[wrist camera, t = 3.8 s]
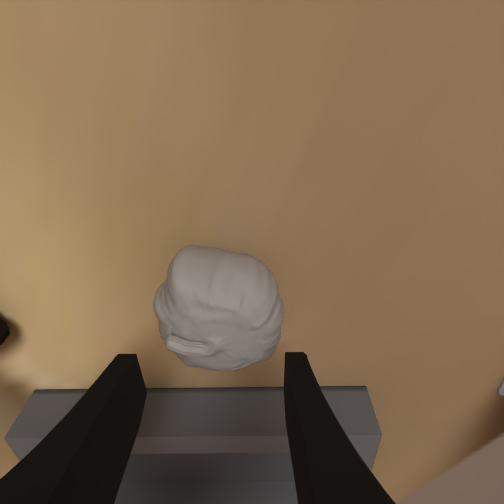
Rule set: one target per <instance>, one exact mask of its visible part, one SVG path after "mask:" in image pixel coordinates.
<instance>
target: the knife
mask: <svg viewBox="0 0 504 504" xmlns="http://www.w3.org/2000/svg"><path fill="white" fill-rule="evenodd" d="M9 335H10V332H9V327H8V326H7V324H6V323H5V322H4V321H3V320H2V319H1V318H0V345H2V344H3V342H4V341H5V340H6V339H7V337H8V336H9Z"/></svg>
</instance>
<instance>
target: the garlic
mask: <svg viewBox="0 0 504 504" xmlns="http://www.w3.org/2000/svg"><path fill="white" fill-rule="evenodd" d="M153 306H154V311H155V314H156V316H157V318H158V321H159V331H160V334H161V337H162V338H163V340H164V341H165V347H166V348H167V349H168V350H170V351H172V352H174V353H175V354H176V355H177V356H178V358H179V359H180V360H181V361H182V362H183V363H184V364H185V365H187V366H190V367H200V368H205V369H208V370H214V371H230V370H232V371H237V370H239V369H242V368H244V367H246V366H249V365H250V364H252V363H256V362H260V361H264V360H266V359H268V358H270V357H271V356H272V354H273V353H274V351H275V349H276V347H277V344H278V342H279V339H280V335H281V323H282V321H283V317H284V306H283V302H282V299H281V297H280V295H279V292H278V288H277V282H276V279H275V277H274V275H273V274H272V272H271V271H270V270H269V269H268V268H267V266H266V265H265V264H264V263H263V262H261V261H260V260H258V259H256V258H255V257H253V256H250V255H247V254H239V253H235V252H230V251H227V250H223V249H219V248H208V247H200V246H194V245H190V246H186V247H184V248H182V249H181V250H180V251H179V252H178V253H177V254H176V256H175V257H174V258H173V259H172V261H171V263H170V265H169V268H168V274H167V280H166V281H165V282H164V283H163V284H162V285H161V286H160V287H159V288H158V290H157V292H156V294H155V297H154V303H153Z"/></svg>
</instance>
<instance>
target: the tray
mask: <svg viewBox="0 0 504 504" xmlns="http://www.w3.org/2000/svg"><path fill="white" fill-rule="evenodd" d="M320 389H321V391H322V393H323V394H324V396H325V398H326V400H327V402H328V404H329V406H330V408H331V409H332V411H333V413H334V415H335V417H336V418H337V420H338V422H339V423H340V425H341V427H342V428H343V430H344V432H345V433H346V435H347V437H348V438H349V440H350V441H351V443H352V444H353V446H354V448H355V449H356V451H357V452H358V454H359V455H360V457H361V458H362V459H363V461H364V462H365V464H366V465H367V467H368V468H369V469H370V471H371V470H372V467H373V464H374V460H375V457H376V453H377V450H378V447H379V443H380V440H381V436H382V434H381V431H380V428H379V425H378V421H377V418H376V415H375V412H374V409H373V406H372V403H371V400H370V397H369V394H368V391H367V388H366V386H347V387H320ZM87 391H88V389H65V390H34V392H33V393H32V395H31V397H30V398H29V400H28V401H27V403H26V405H25V406H24V408H23V409H22V411H21V412H20V414H19V416H18V417H17V419H16V420H15V422H14V423H13V425H12V427H11V428H10V430H9V431H8V433H7V435H6V436H5V438H4V439H5V440H6V442H7V443H8V445H9V446H10V447H11V449H12V450H13V452H14V453H15V455H16V456H17V458H18V459H19V461H21V460H22V459H23V458H24V457H25V456H26V455H27V454H28V453H29V452H30V451H31V450H33V449H34V448H35V447H36V446H37V445H38V444H39V443H40V442H41V441H42V440H43V439H44V438H45V436H46V435H47V434H48V433H49V432H50V431H51V430H52V429H53V428H54V427H55V426H56V425H57V424H58V423H59V422H60V421H61V420H62V419H63V418H64V416H65V415H66V414H67V413H68V412H69V411H70V410H71V409H72V408H73V406H74V405H75V404H76V403H77V402H78V401H79V400H80V399H81V397H82V396H83V395H84V394H85V393H86V392H87ZM146 391H147V395H146V400H145V405H144V410H143V415H142V419H141V424H140V427H139V430H138V433H137V436H136V439H135V442H134V445H133V448H132V451H131V454H130V457H129V460H128V463H127V466H126V469H125V472H124V475H123V478H122V481H121V484H120V487H119V490H118V493H117V496H116V500H115V503H114V504H298V500H297V493H296V486H295V480H294V474H293V467H292V461H291V454H290V448H289V442H288V435H287V429H286V421H285V406H284V387H253V388H159V389H146Z"/></svg>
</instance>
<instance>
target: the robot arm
mask: <svg viewBox="0 0 504 504" xmlns="http://www.w3.org/2000/svg"><path fill="white" fill-rule="evenodd" d="M497 392H498V394H499V395H501V396H504V379H503V381H502V383H501V385H500V386H499V388H498V391H497ZM146 395H147V391H146V388H145V384H144V380H143V377H142V373H141V370H140V366H139V362H138V359H137V355H136V354H118V355H117V356H116V357H115V358H114V359H113V361H112V362H111V363H110V364H109V365H108V367H107V368H106V369H105V370H104V371H103V373H102V374H101V375H100V376H99V377H98V379H97V380H96V381H95V382H94V383H93V385H92V386H91V387H90V388H89V389H88V391H87V392H86V393H85V394H84V395H83V396H82V397H81V399H80V400H79V401H78V402H77V403H76V404H75V405H74V406H73V408H72V409H71V410H70V411H69V412H68V413H67V414H66V415H65V416H64V418H63V419H62V420H61V421H60V422H59V423H58V424H57V425H56V426H55V427H54V428H53V429H52V430H51V431H50V432H49V433H48V434H47V435H46V436H45V438H44V439H43V440H42V441H41V442H40V443H39V444H38V445H37V446H36V447H35V448H34V449H33V450H31V451H30V452H29V453H28V454H27V455H26V456H25V457H24V458H23V459H22V460H21V461H20V462H19V463H18V464H17V465H16V466H15V467H13V468H12V469H11V470H10V471H9V472H8V473H7V474H6V475H5V476H3V477H2V478H1V479H0V504H114V503H115V500H116V496H117V493H118V490H119V487H120V484H121V481H122V478H123V475H124V472H125V469H126V466H127V463H128V460H129V457H130V454H131V451H132V448H133V445H134V442H135V439H136V436H137V433H138V430H139V427H140V424H141V419H142V415H143V410H144V405H145V400H146ZM284 406H285V421H286V429H287V435H288V442H289V448H290V454H291V461H292V467H293V474H294V480H295V486H296V493H297V500H298V504H395V502H394V501H393V500H392V499H391V497H390V496H389V495H388V494H387V492H386V491H385V490H384V489H383V487H382V486H381V484H380V483H379V482H378V480H377V479H376V478H375V476H374V475H373V474H372V472H371V471H370V469H369V468H368V467H367V465H366V464H365V462H364V461H363V459H362V458H361V457H360V455H359V454H358V452H357V451H356V449H355V448H354V446H353V444H352V443H351V441H350V440H349V438H348V437H347V435H346V433H345V432H344V430H343V428H342V427H341V425H340V423H339V422H338V420H337V418H336V417H335V415H334V413H333V411H332V409H331V408H330V406H329V404H328V402H327V400H326V398H325V396H324V394H323V393H322V391H321V389H320V386H319V384H318V382H317V380H316V378H315V376H314V373H313V371H312V369H311V366H310V364H309V361H308V358H307V355H306V354H305V353H304V352H285V371H284Z"/></svg>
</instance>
